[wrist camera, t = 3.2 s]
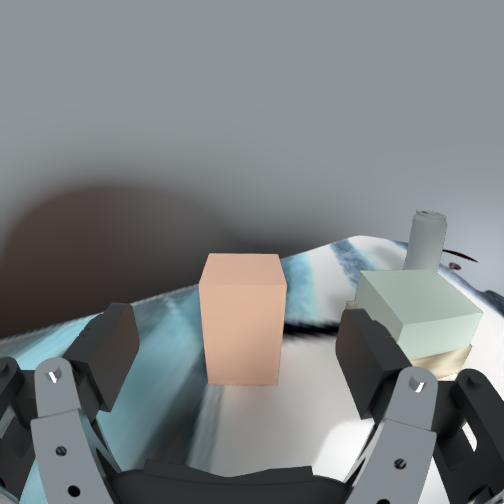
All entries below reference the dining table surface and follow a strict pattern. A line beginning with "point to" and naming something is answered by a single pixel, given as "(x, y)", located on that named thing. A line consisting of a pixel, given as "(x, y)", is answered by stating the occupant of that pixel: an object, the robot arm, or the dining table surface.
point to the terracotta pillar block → (242, 318)
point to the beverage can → (425, 241)
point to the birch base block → (437, 358)
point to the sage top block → (418, 310)
